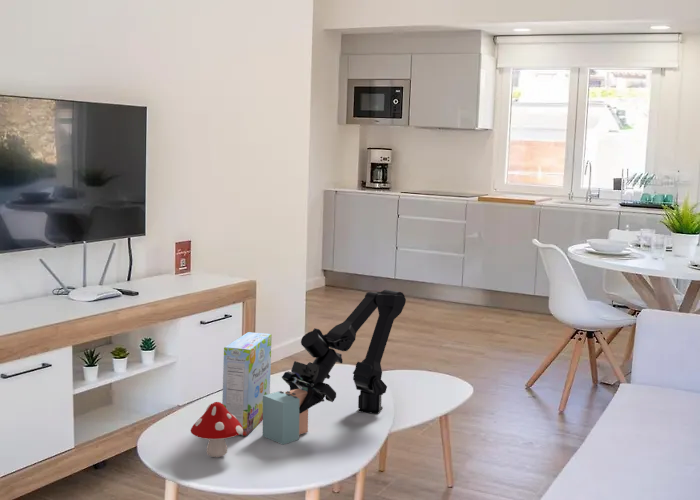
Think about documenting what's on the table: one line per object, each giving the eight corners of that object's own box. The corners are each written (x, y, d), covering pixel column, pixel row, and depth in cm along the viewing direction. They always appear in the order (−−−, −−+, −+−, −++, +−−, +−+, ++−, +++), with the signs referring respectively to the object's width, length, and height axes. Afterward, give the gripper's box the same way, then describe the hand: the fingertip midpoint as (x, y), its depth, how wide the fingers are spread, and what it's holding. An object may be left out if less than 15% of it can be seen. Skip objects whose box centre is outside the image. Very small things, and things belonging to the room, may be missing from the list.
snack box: (249, 437, 233) (250, 349, 230) (220, 434, 235) (220, 347, 231) (271, 413, 254) (272, 332, 251) (245, 411, 256) (245, 330, 252)
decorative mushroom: (185, 449, 223) (185, 396, 221) (234, 443, 228) (234, 391, 226) (197, 469, 210) (197, 412, 208) (249, 461, 215) (249, 406, 213)
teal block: (278, 431, 238) (279, 390, 237) (299, 439, 232) (299, 397, 231) (262, 435, 234) (262, 394, 233) (282, 444, 228) (283, 401, 226)
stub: (297, 428, 241) (298, 387, 239) (307, 431, 237) (308, 390, 236) (284, 431, 237) (285, 390, 236) (294, 436, 234) (295, 394, 232)
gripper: (286, 344, 244) (257, 387, 237) (329, 357, 230) (299, 403, 224) (306, 365, 250) (278, 408, 244) (349, 379, 237) (320, 424, 231)
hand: (293, 410), depth 235 cm, fingers open, 5 cm apart
